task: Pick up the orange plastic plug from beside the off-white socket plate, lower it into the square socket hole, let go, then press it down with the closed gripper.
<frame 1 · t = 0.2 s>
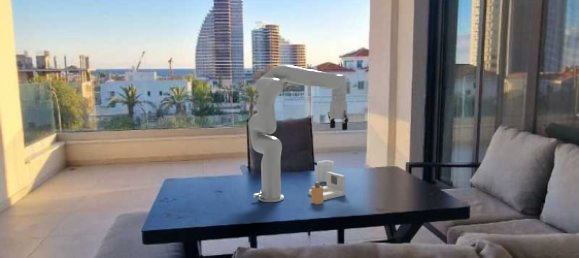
hand: (338, 128, 242), 31 cm above the table, tool pointing down, fingers open, 9 cm apart
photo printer: (325, 182, 252), on the table
socket: (325, 195, 226), on the table
plug: (317, 202, 214), on the table
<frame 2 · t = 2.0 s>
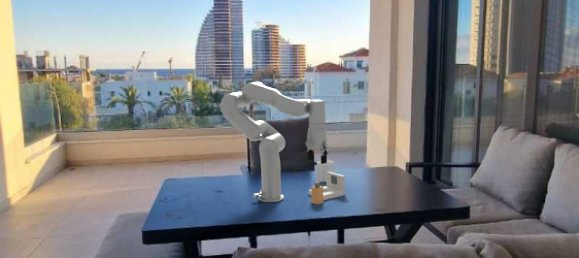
hand: (317, 161, 211), 20 cm above the table, tool pointing down, fingers open, 9 cm apart
nothing on the table moved.
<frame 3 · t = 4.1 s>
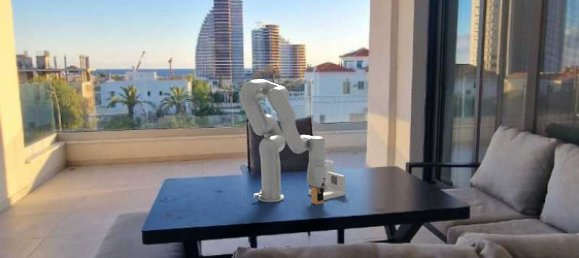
hand: (317, 199, 213), 2 cm above the table, tool pointing down, fingers closed on plug, 4 cm apart
plug: (317, 202, 214), on the table, touching gripper
everything else where it was.
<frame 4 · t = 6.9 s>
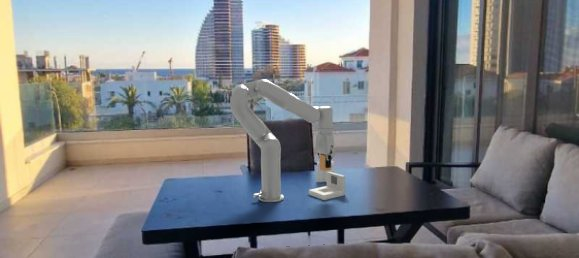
hand: (325, 166, 223), 15 cm above the table, tool pointing down, fingers closed on plug, 4 cm apart
plug: (325, 169, 224), point 13 cm above the table, touching gripper
everything else where it was.
when the fingers open (4 cm above the table, at t = 9.2 s): plug drops 2 cm, resting in socket.
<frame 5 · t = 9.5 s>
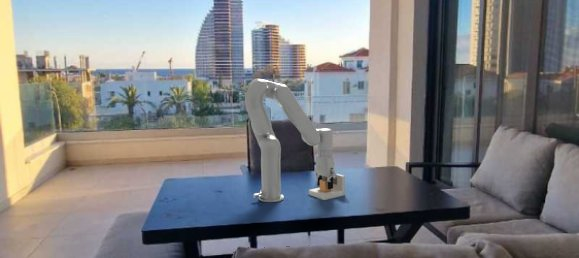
hand: (325, 187, 225), 4 cm above the table, tool pointing down, fingers open, 7 cm apart
plug: (325, 195, 226), resting in socket
everything else where it was.
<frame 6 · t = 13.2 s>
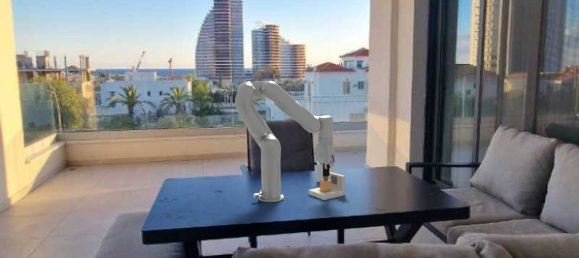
hand: (326, 175, 224), 10 cm above the table, tool pointing down, fingers closed
plug: (325, 195, 226), resting in socket, touching gripper
everything else where it was.
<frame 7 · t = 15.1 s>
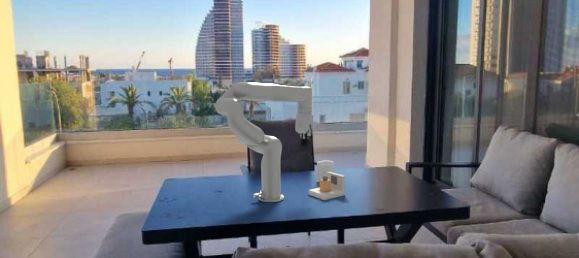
hand: (304, 145, 230), 24 cm above the table, tool pointing down, fingers closed
plug: (325, 195, 226), resting in socket
everything else where it was.
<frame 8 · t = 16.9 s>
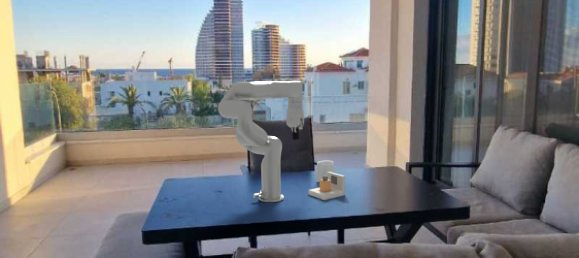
hand: (295, 139, 233), 27 cm above the table, tool pointing down, fingers closed
nothing on the table moved.
at the end: plug 0.0 cm off-centre on the socket, point 0.0 cm above the socket's base; plug tilted 0°; the gripper is holding nothing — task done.
